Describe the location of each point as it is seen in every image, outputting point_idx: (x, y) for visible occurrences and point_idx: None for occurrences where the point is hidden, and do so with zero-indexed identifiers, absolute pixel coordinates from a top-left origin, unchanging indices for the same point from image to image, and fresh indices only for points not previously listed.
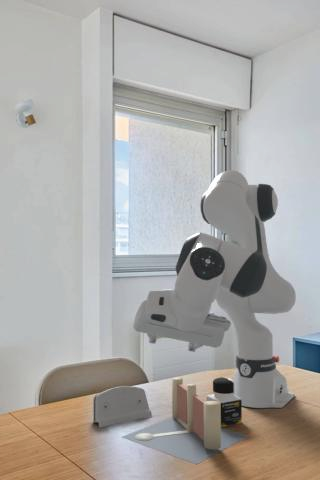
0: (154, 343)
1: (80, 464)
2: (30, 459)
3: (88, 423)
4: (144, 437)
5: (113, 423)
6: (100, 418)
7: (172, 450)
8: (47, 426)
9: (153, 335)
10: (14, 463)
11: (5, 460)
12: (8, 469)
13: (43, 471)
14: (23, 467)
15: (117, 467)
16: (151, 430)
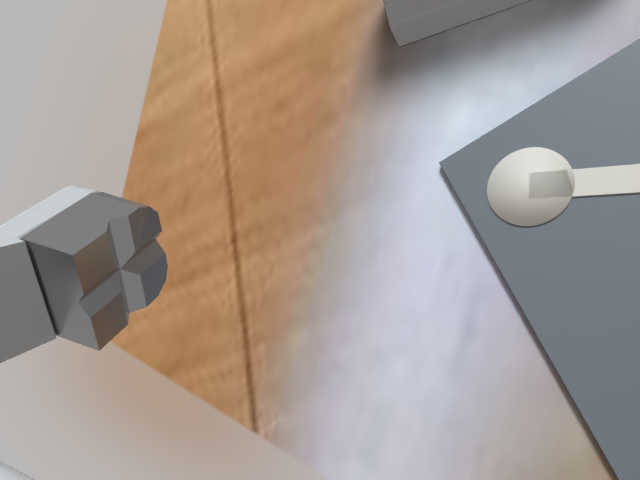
0: (147, 297)
1: (254, 338)
2: None
3: (373, 3)
4: (526, 193)
5: (451, 22)
6: (395, 11)
7: (608, 371)
8: (255, 19)
9: (35, 279)
10: None
11: None
12: None
13: (163, 344)
14: None
15: (347, 414)
16: (587, 119)
